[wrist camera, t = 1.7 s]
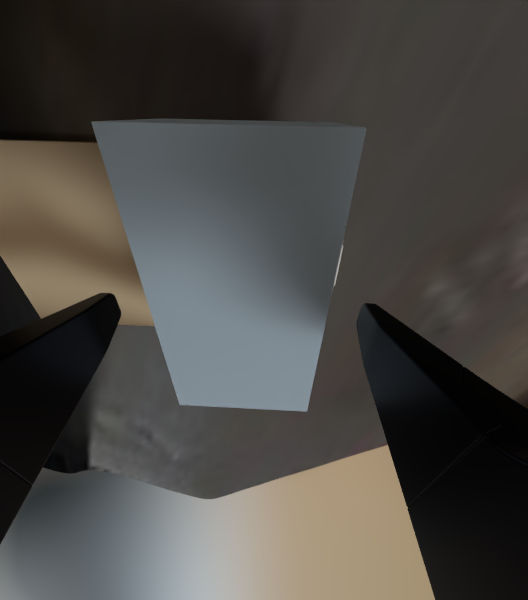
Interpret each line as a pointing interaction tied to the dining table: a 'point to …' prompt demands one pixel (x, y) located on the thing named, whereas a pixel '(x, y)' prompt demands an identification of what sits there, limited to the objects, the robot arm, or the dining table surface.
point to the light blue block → (235, 246)
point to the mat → (65, 228)
